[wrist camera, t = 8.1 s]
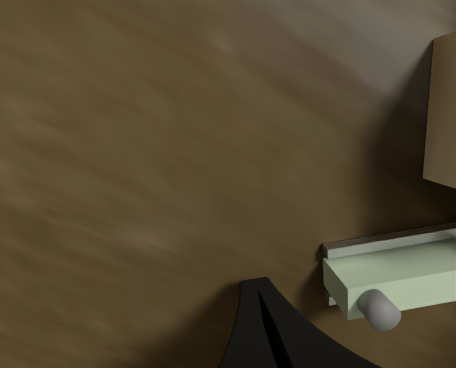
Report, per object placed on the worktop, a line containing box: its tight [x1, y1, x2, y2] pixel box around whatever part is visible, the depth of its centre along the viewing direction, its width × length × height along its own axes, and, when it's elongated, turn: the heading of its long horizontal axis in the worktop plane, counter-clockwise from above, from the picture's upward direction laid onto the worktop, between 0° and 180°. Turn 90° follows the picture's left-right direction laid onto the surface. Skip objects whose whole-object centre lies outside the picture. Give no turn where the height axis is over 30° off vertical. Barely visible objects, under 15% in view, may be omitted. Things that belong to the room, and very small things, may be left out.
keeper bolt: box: [323, 238, 456, 331], centre depth 12 cm, size 7×2×3 cm, turn 98°
